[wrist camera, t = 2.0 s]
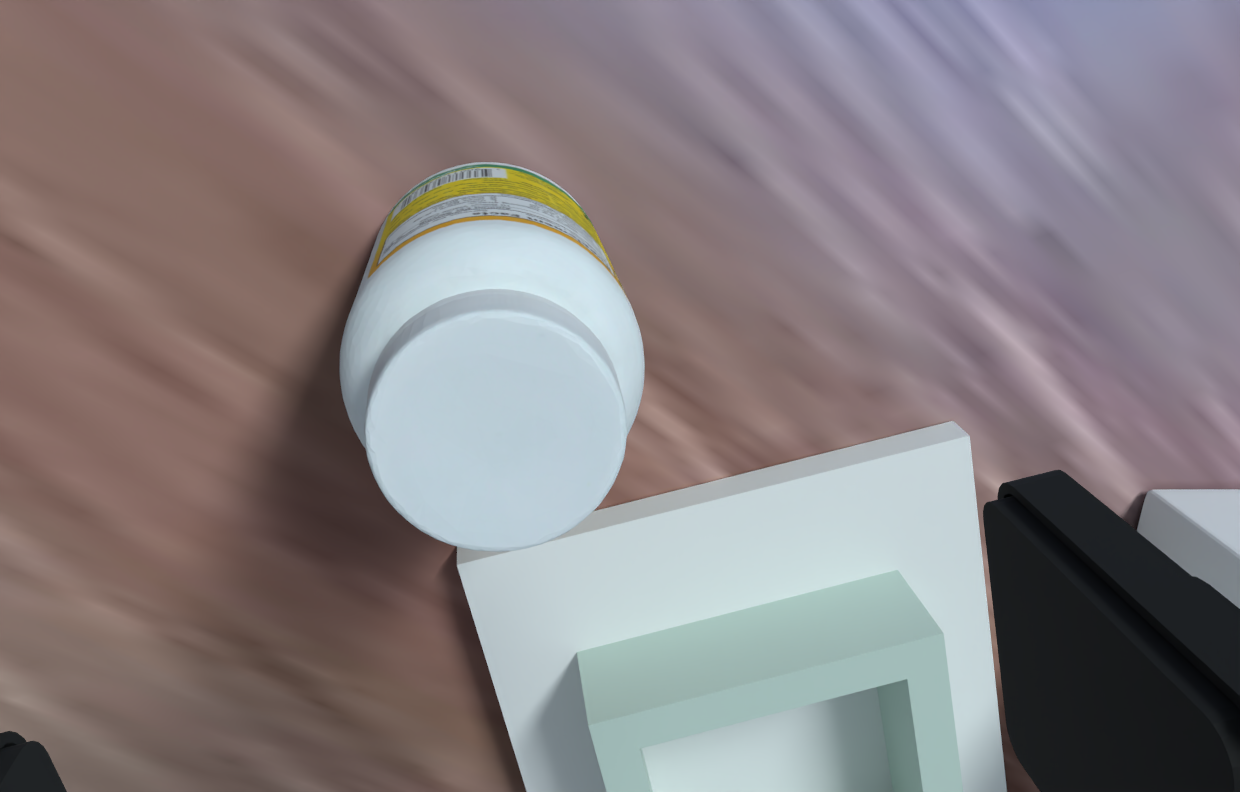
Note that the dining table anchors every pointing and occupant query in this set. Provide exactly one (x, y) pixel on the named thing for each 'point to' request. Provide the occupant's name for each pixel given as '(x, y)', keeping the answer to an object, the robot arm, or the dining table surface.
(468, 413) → the supplement bottle
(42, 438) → the dining table surface
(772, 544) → the cup holder
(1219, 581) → the milk carton
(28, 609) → the dining table surface
